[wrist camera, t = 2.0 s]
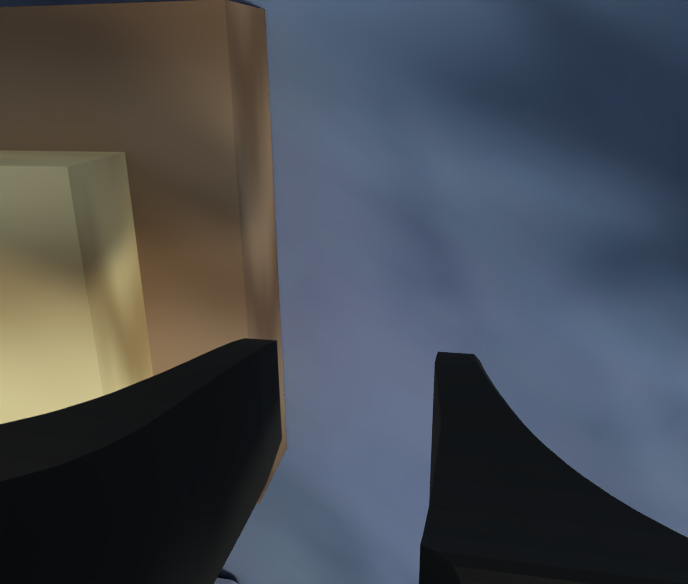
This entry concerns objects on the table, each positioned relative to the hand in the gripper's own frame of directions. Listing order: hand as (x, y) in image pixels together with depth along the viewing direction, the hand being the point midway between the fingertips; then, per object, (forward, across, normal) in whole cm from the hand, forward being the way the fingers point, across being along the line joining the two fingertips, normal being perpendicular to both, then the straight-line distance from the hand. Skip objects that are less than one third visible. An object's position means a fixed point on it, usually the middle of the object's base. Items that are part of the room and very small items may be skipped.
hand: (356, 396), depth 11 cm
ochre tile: (+5, +10, 0) cm, 11 cm away
